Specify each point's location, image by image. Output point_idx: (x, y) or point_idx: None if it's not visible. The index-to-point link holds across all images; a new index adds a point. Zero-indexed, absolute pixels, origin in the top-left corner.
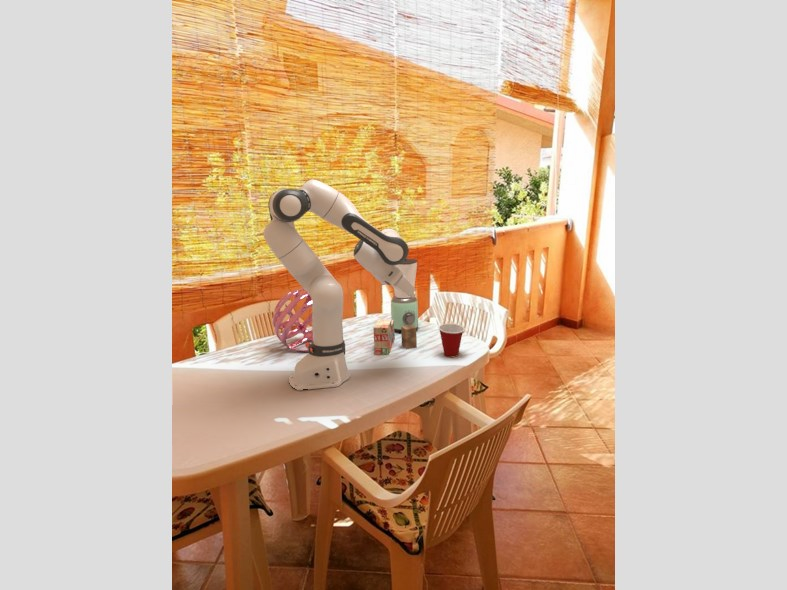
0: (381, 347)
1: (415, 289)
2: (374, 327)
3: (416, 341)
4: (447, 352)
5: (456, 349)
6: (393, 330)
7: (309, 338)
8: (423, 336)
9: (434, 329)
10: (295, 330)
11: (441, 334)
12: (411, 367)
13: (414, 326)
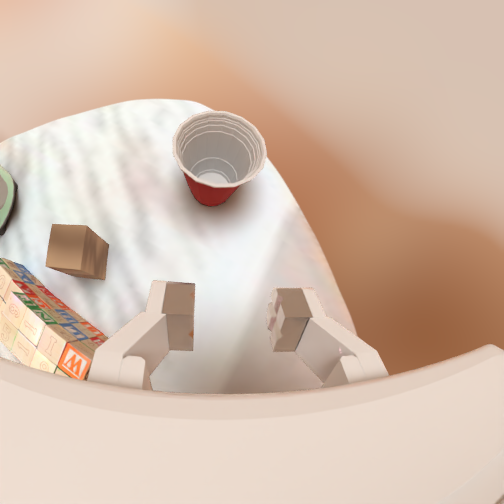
0: None
1: (490, 345)
2: None
3: (102, 239)
4: (223, 200)
5: (236, 176)
6: (16, 271)
7: None
8: (51, 186)
9: (36, 142)
10: None
11: (215, 189)
12: (247, 333)
13: (11, 187)
